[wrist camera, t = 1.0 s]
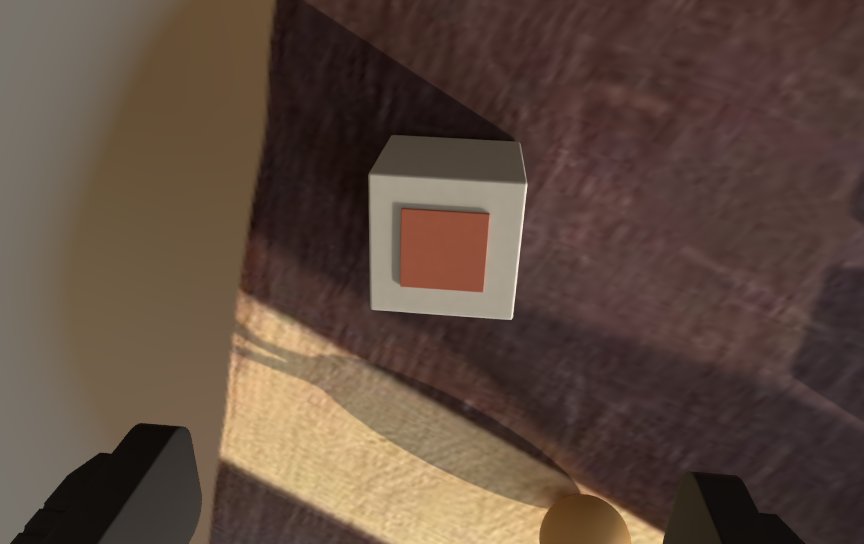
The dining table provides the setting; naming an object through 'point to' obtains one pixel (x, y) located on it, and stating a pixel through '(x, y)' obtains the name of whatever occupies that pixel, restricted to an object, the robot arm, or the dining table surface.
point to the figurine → (583, 522)
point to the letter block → (446, 226)
